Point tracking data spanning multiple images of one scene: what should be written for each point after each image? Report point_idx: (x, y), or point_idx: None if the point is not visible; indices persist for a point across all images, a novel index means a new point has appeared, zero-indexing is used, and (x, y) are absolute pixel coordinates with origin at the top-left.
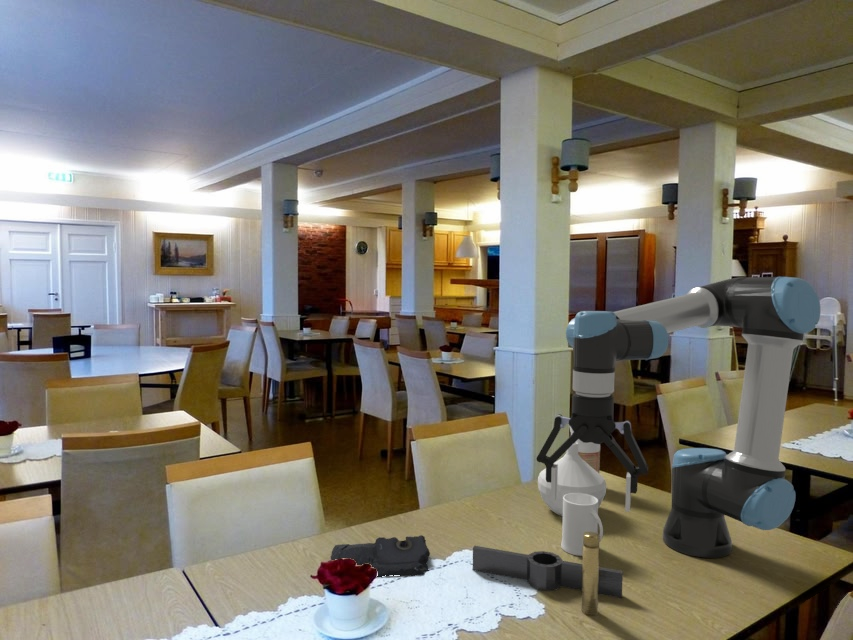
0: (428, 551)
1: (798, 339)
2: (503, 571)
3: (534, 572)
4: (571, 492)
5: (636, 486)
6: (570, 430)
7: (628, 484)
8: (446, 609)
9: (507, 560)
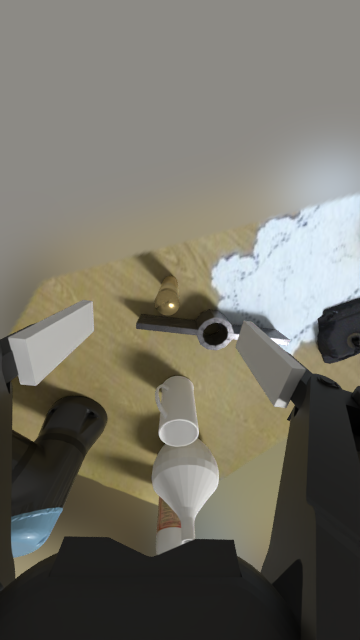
0: (326, 338)
1: None
2: None
3: (224, 317)
4: (186, 457)
5: (20, 330)
6: None
7: (39, 326)
8: (306, 251)
9: None
